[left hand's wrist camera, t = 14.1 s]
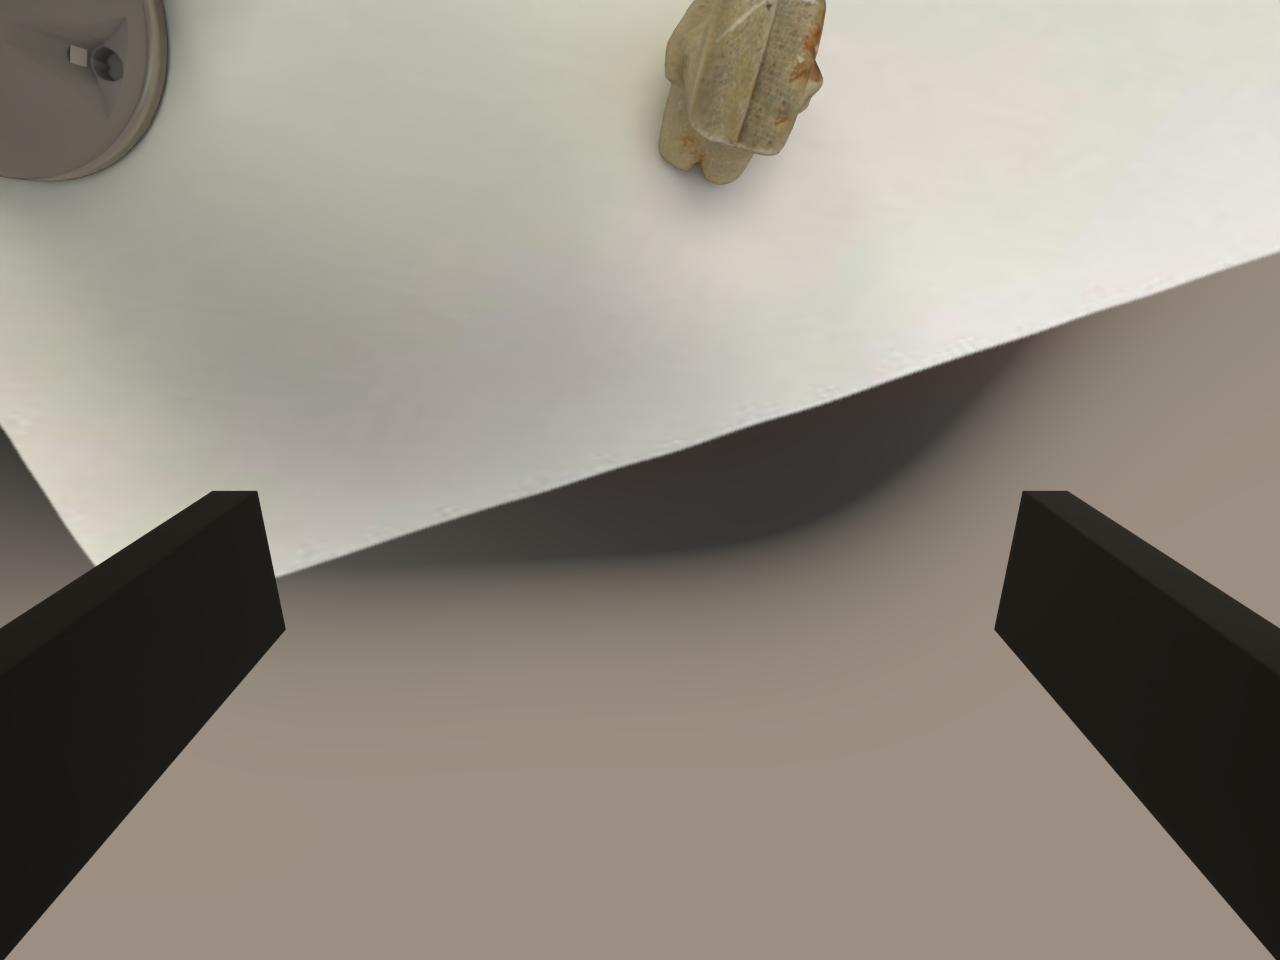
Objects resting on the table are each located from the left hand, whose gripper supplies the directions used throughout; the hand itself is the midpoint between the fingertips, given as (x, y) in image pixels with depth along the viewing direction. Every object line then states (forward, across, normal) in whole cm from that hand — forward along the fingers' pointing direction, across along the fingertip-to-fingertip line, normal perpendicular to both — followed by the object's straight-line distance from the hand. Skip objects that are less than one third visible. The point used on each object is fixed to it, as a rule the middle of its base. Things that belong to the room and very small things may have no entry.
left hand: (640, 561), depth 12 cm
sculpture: (+29, -4, -11) cm, 31 cm away
